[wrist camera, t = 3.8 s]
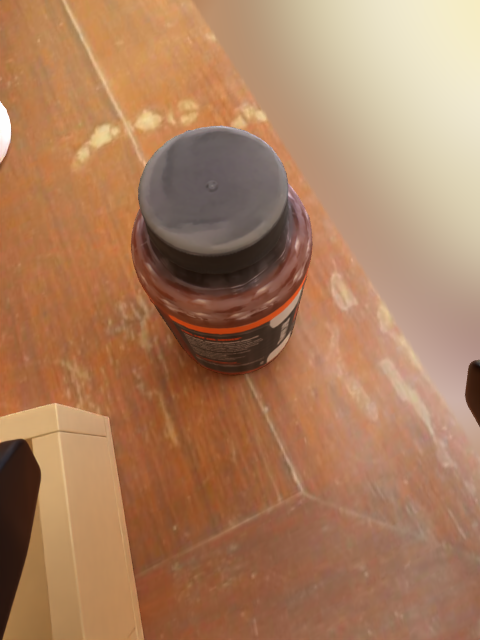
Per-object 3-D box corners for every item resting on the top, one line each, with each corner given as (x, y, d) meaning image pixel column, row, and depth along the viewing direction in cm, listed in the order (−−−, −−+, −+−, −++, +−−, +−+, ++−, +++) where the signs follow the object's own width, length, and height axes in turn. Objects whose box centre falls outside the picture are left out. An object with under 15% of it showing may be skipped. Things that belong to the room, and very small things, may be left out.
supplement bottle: (313, 349, 21) (370, 241, 11) (200, 396, 21) (140, 333, 10) (265, 248, 23) (272, 67, 12) (160, 289, 23) (71, 138, 12)
